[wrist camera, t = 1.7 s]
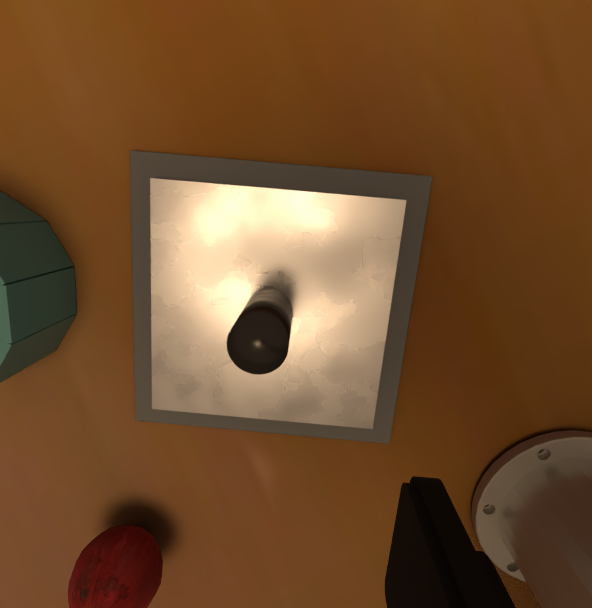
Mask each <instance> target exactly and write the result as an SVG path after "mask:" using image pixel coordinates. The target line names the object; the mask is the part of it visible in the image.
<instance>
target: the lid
mask: <svg viewBox="0 0 592 608" xmlns="http://www.w3.org/2000/svg"><path fill="white" fill-rule="evenodd" d="M405 207H406V200H399V199H387V198H376V197H364V196H353V195H341V194H329V193H318V192H306V191H295V190H283V189H271V188H260V187H248V186H237V185H225V184H213V183H202V182H190V181H179V180H167V179H156V178H150V218H151V347H152V409H158V410H169V411H180V412H191V413H202V414H213V415H224V416H234V417H245V418H256V419H267V420H278V421H289V422H300V423H311V424H322V425H333V426H344V427H355V428H366V429H373V423H374V416H375V409H376V403H377V396H378V389H379V382H380V376H381V369H382V362H383V355H384V349H385V342H386V335H387V328H388V322H389V315H390V308H391V301H392V295H393V288H394V281H395V274H396V268H397V261H398V254H399V248H400V241H401V234H402V227H403V221H404V214H405Z"/></svg>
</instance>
